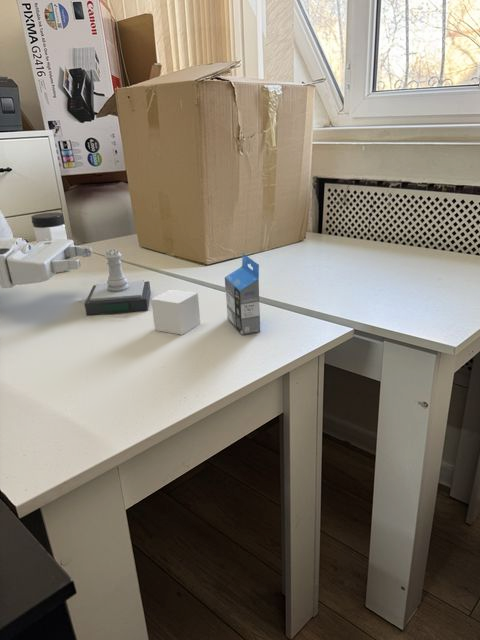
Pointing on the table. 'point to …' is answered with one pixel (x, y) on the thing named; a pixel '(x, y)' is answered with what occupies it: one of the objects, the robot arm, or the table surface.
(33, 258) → the robot arm
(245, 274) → the ink cartridge box
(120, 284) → the rook chess piece
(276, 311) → the table surface
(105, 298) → the scale
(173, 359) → the table surface
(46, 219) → the jar
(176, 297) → the white cube
